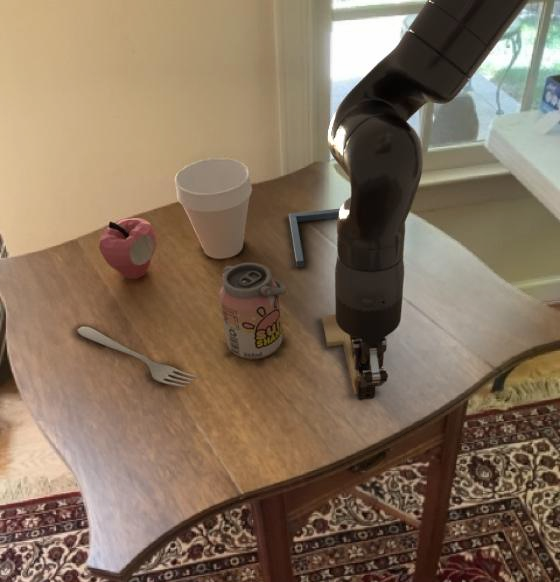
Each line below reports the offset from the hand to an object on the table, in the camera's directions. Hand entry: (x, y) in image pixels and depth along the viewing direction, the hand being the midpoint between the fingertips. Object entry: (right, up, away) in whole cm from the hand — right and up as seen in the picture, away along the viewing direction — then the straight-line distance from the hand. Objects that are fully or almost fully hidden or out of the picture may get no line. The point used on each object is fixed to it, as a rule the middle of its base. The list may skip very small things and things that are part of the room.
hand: (365, 395), depth 85 cm
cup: (-21, +25, +30) cm, 44 cm away
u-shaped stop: (-3, +26, +29) cm, 40 cm away
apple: (-35, +20, +26) cm, 48 cm away
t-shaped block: (-1, +6, +8) cm, 10 cm away
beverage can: (-14, +7, +11) cm, 20 cm away
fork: (-32, +5, +11) cm, 34 cm away
